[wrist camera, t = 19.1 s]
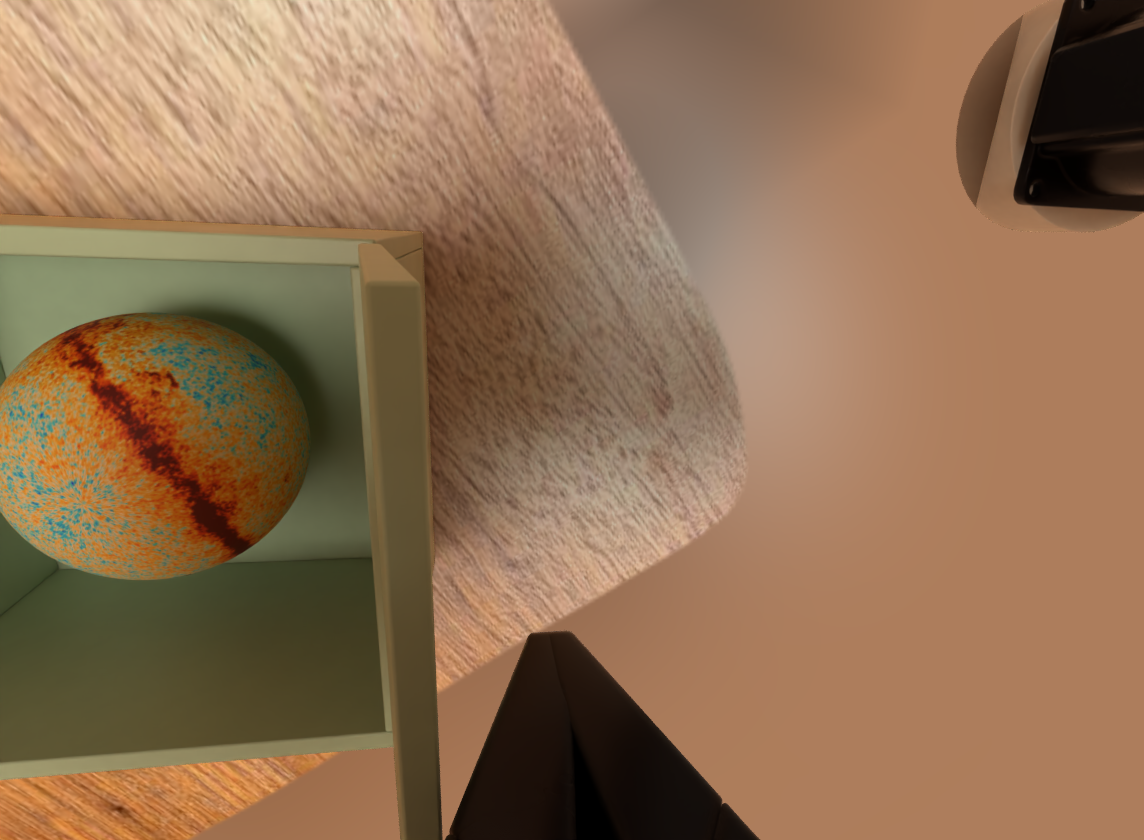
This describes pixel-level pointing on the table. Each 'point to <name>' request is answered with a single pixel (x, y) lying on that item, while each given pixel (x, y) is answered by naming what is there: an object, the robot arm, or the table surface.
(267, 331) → the carton
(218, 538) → the ball
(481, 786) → the robot arm
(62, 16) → the table surface
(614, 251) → the table surface
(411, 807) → the flap
